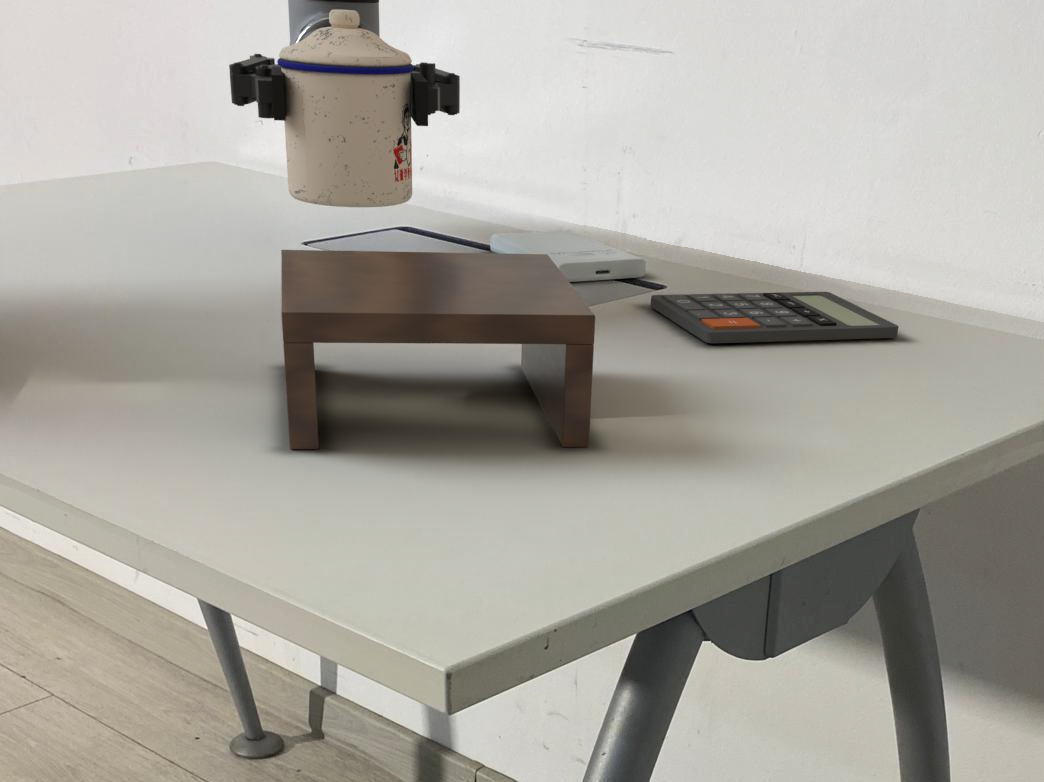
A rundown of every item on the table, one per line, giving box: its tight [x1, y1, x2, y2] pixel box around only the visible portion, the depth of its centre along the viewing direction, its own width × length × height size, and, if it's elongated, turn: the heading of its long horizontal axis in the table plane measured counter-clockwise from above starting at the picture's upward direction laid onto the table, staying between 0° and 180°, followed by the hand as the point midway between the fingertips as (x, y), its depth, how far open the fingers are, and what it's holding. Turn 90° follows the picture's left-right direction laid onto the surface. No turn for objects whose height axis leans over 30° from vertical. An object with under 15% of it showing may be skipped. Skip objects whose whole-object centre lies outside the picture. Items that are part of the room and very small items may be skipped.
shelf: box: [280, 249, 596, 450], centre depth 81 cm, size 16×16×7 cm
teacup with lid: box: [276, 9, 414, 208], centre depth 99 cm, size 12×9×12 cm
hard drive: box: [489, 230, 647, 283], centre depth 120 cm, size 2×8×12 cm
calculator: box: [649, 291, 900, 344], centre depth 105 cm, size 12×1×15 cm
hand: (351, 100), depth 95 cm, fingers closed on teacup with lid, 9 cm apart
